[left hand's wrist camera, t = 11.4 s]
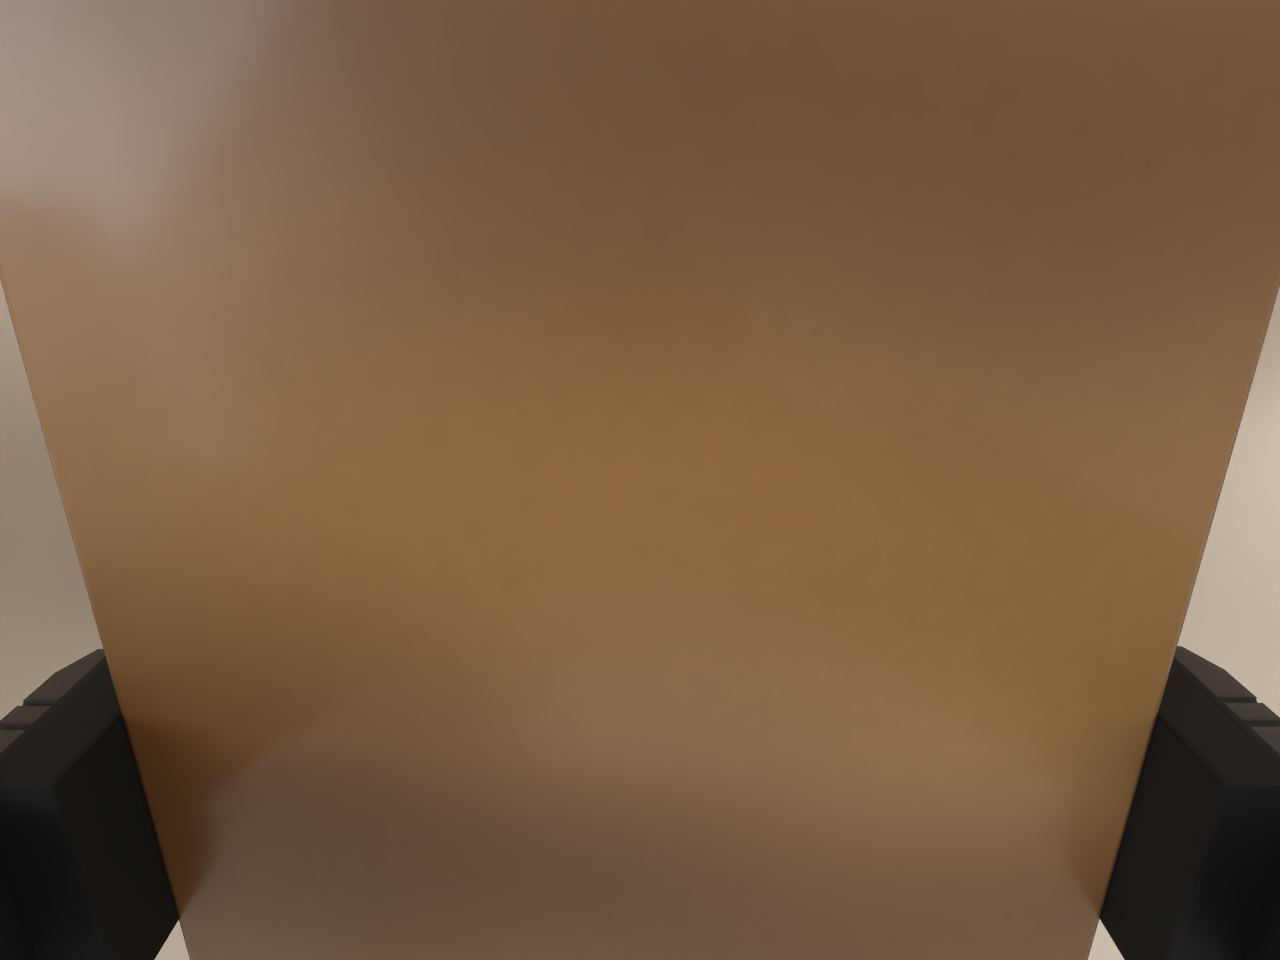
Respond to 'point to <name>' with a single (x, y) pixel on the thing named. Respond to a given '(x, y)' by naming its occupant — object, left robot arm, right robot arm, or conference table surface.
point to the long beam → (639, 449)
